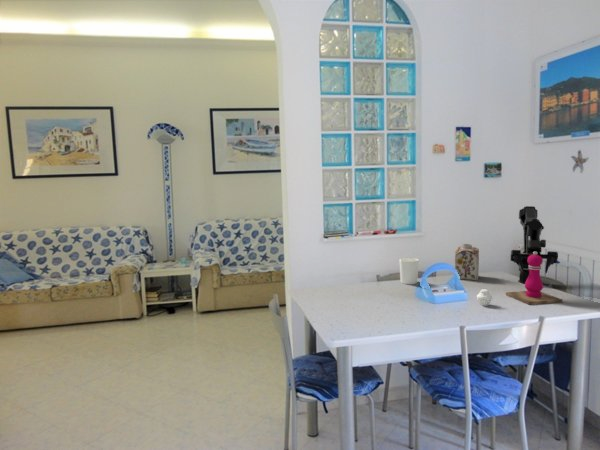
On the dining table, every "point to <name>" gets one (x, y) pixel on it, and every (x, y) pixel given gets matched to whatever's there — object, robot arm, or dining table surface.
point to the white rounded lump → (484, 297)
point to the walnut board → (533, 298)
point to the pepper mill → (534, 276)
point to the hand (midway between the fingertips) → (534, 272)
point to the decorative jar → (467, 262)
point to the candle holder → (408, 270)
